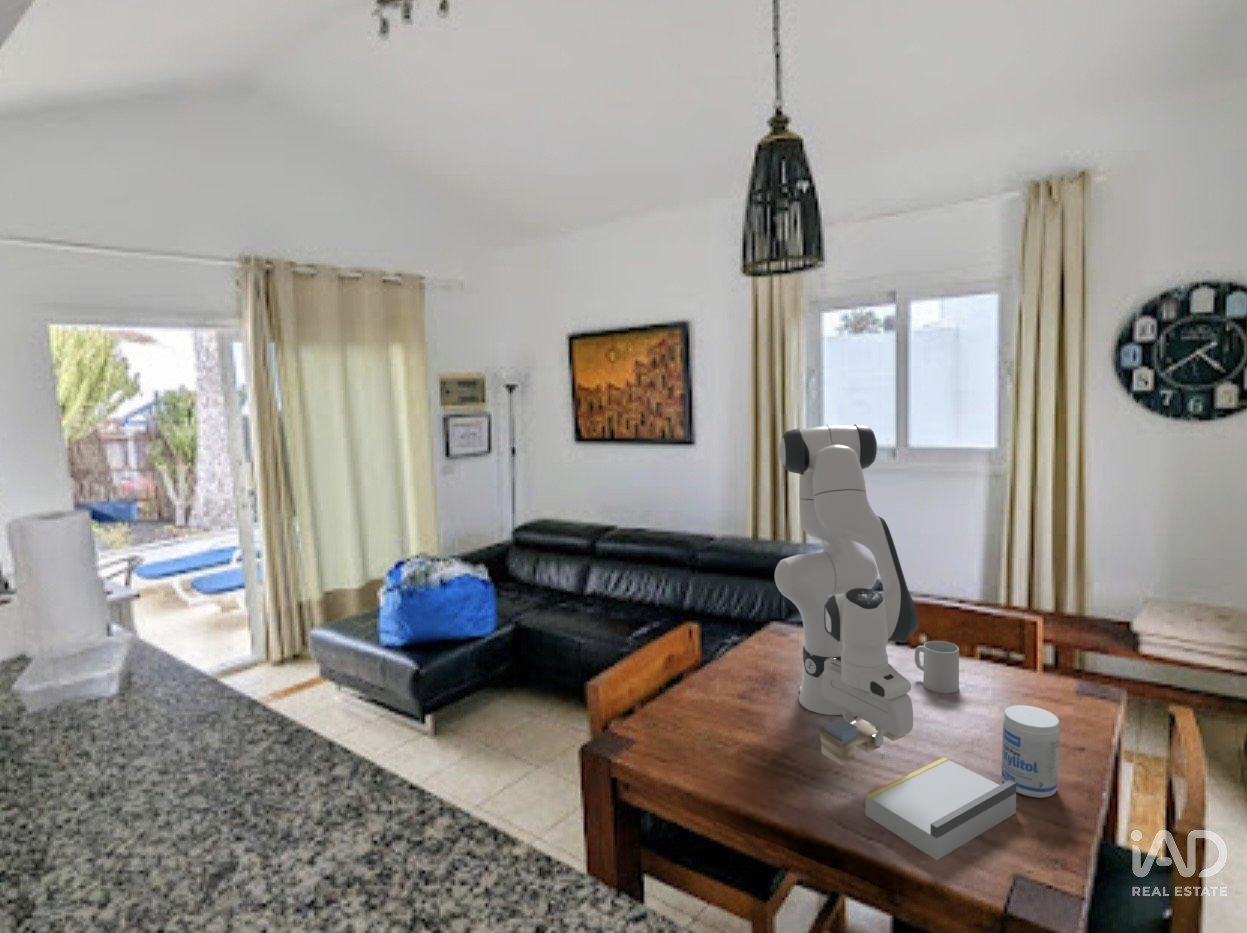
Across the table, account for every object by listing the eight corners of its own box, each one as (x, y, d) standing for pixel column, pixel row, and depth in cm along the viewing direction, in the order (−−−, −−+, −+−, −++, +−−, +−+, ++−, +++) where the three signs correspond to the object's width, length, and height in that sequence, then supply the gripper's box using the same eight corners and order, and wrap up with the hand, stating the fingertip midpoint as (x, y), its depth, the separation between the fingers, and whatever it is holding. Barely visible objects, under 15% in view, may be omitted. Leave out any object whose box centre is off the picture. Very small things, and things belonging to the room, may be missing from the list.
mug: (966, 688, 180) (966, 647, 178) (945, 697, 175) (945, 655, 174) (925, 672, 190) (925, 634, 189) (905, 681, 186) (904, 641, 184)
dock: (943, 775, 141) (943, 748, 141) (1015, 813, 128) (1016, 782, 128) (865, 815, 130) (865, 785, 129) (936, 860, 117) (936, 827, 116)
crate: (841, 730, 138) (841, 718, 138) (856, 738, 135) (856, 726, 134) (827, 736, 136) (827, 724, 136) (842, 745, 133) (842, 733, 132)
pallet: (885, 725, 146) (885, 705, 145) (905, 735, 141) (906, 714, 141) (820, 753, 136) (820, 732, 136) (840, 765, 132) (840, 743, 132)
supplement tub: (996, 788, 136) (997, 718, 134) (1007, 767, 143) (1008, 699, 142) (1053, 806, 130) (1055, 732, 128) (1061, 782, 137) (1063, 712, 135)
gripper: (814, 658, 144) (814, 720, 146) (896, 695, 127) (895, 765, 129) (835, 650, 147) (835, 711, 149) (918, 686, 130) (917, 754, 132)
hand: (864, 736), depth 139 cm, fingers closed on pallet, 5 cm apart
